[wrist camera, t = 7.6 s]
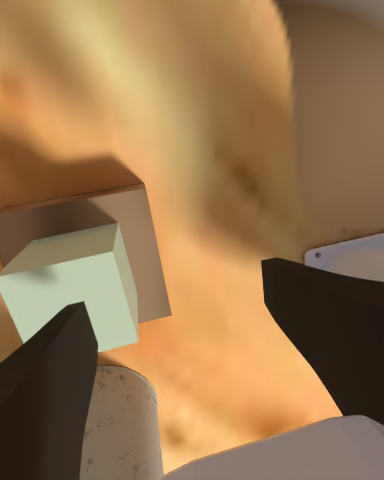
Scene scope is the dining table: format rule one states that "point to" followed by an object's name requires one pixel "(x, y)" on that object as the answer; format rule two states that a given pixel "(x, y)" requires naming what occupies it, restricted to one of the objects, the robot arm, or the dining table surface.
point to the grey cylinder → (121, 428)
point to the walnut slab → (90, 216)
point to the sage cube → (74, 284)
